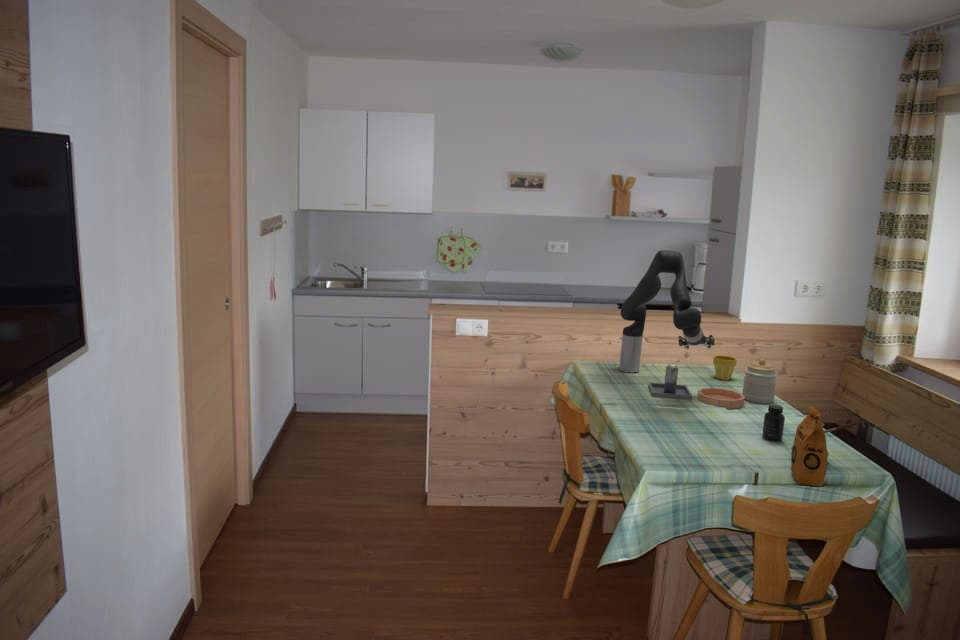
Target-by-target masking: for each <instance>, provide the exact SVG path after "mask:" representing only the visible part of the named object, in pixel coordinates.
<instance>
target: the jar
mask: <svg viewBox="0 0 960 640" xmlns="http://www.w3.org/2000/svg"><path fill="white" fill-rule="evenodd" d="M776 371H777V368H776V367H775V366H774V365H773V364H772V363H768V362H766V359H764V358H760V359H759V360H758V361H752V362H750V363H749V364H747V368H746V369H744V373H745V376H744V377H743V385H742V391H741V394H743V396H744V397H745V401H748V402H750V403H751V402H752V403H757V404H771V402H772V403H774V400H775V392H776V385H777V381H776V378H777V376H778V373H777V372H776Z"/></svg>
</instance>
